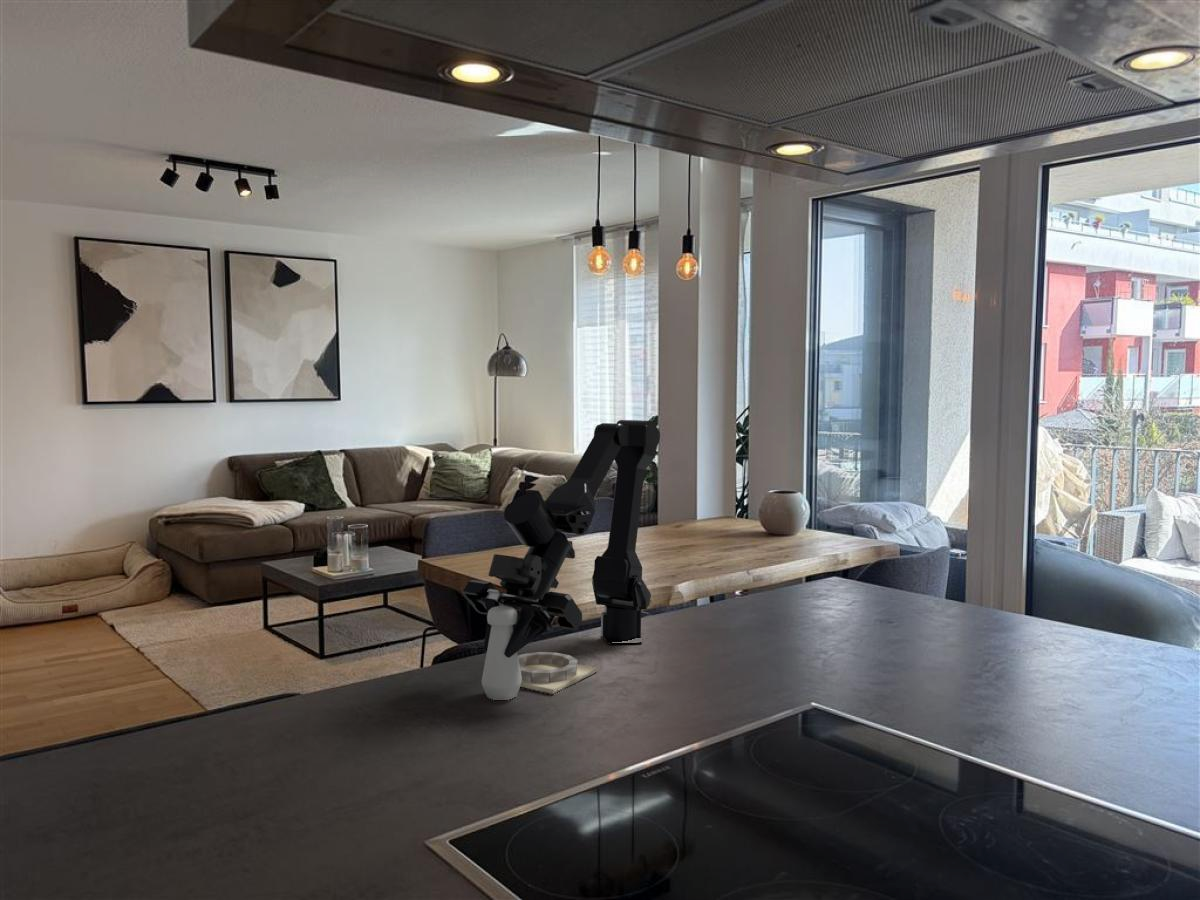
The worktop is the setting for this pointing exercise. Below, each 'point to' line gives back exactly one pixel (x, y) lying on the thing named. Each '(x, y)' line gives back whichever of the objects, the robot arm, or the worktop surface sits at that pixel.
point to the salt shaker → (501, 656)
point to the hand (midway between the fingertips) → (496, 653)
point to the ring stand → (550, 670)
